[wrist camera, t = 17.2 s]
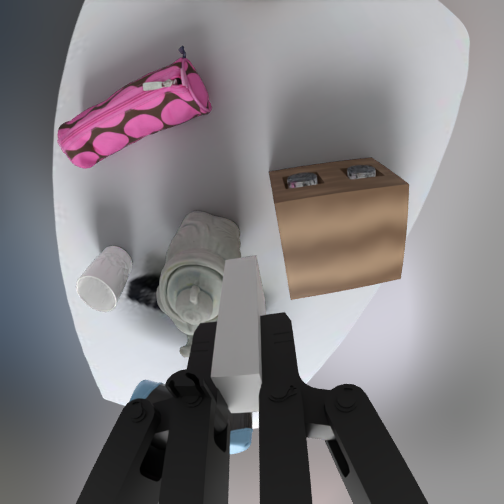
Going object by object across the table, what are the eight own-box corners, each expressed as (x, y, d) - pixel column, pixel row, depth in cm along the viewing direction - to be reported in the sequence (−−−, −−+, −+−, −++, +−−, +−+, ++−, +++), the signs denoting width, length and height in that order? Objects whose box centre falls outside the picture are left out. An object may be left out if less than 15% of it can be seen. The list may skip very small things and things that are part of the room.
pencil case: (194, 50, 30) (175, 38, 21) (219, 108, 35) (207, 114, 26) (76, 117, 34) (38, 130, 25) (99, 167, 39) (66, 189, 30)
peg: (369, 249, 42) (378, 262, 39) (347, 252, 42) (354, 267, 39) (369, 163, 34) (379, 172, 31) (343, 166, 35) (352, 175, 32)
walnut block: (372, 236, 45) (400, 278, 35) (283, 251, 47) (290, 299, 37) (371, 157, 38) (409, 184, 28) (268, 171, 40) (274, 203, 30)
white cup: (92, 252, 47) (68, 284, 39) (118, 236, 46) (94, 269, 37) (115, 281, 51) (96, 316, 43) (143, 269, 49) (125, 305, 41)
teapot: (206, 299, 53) (192, 382, 37) (146, 248, 47) (105, 327, 31) (274, 252, 47) (283, 340, 31) (211, 188, 41) (184, 258, 25)
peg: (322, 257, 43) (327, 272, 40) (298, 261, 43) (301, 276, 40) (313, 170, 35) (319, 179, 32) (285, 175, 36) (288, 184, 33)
